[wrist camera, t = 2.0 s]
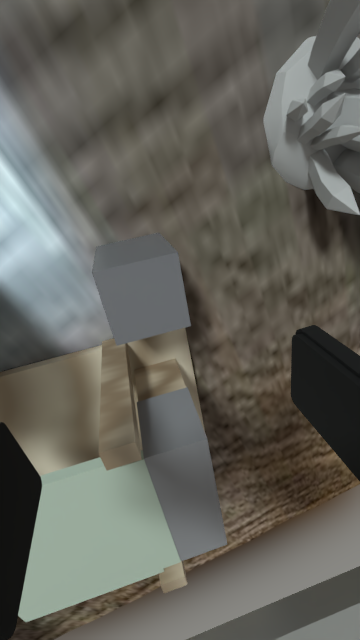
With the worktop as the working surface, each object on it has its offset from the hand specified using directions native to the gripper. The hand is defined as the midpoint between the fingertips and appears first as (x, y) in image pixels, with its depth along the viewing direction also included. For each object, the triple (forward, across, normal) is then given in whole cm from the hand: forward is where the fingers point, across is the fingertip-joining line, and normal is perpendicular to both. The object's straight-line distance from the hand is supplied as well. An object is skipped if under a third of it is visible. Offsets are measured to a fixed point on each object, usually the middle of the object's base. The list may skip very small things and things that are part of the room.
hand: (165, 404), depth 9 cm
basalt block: (+16, -1, 0) cm, 16 cm away
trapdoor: (+10, +6, +15) cm, 19 cm away
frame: (+16, +8, +15) cm, 23 cm away
